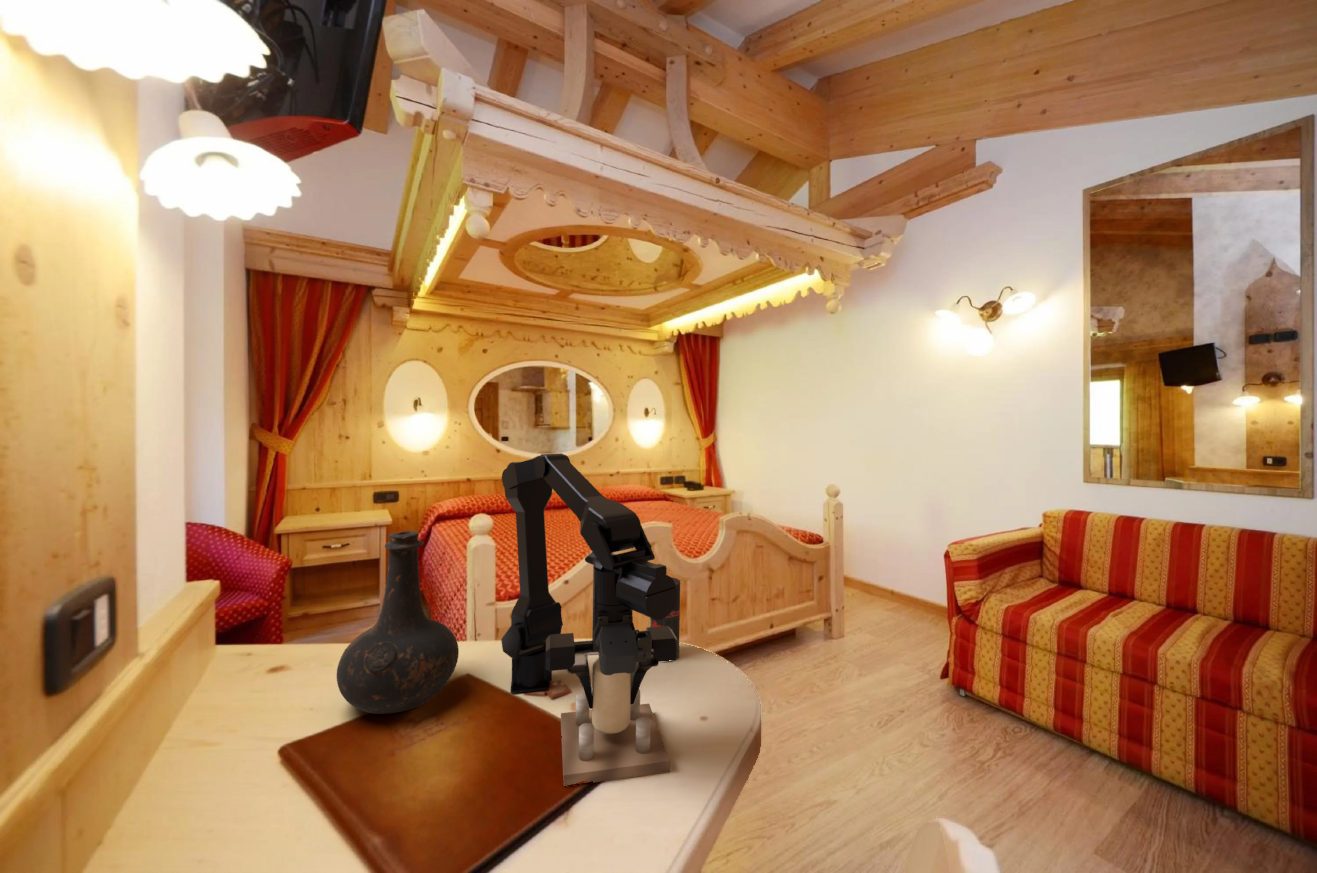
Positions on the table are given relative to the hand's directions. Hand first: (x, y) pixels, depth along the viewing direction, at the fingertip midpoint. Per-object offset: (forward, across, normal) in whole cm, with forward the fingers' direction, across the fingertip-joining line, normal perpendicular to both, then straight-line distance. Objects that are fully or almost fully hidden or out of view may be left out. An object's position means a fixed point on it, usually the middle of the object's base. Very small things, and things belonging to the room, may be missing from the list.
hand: (611, 705), depth 73 cm
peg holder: (+6, 0, 0) cm, 6 cm away
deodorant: (+6, +14, +26) cm, 30 cm away
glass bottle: (+6, -33, +19) cm, 39 cm away
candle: (+3, 0, 0) cm, 3 cm away
